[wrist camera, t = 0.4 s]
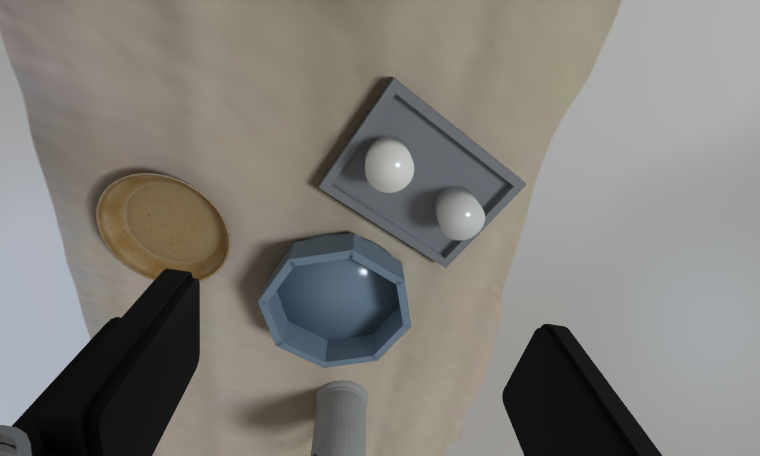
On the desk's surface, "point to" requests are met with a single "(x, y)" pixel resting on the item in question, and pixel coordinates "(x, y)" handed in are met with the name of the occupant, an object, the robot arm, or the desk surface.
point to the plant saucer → (162, 226)
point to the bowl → (336, 300)
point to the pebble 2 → (458, 213)
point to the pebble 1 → (388, 164)
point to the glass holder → (340, 420)
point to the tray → (419, 173)
